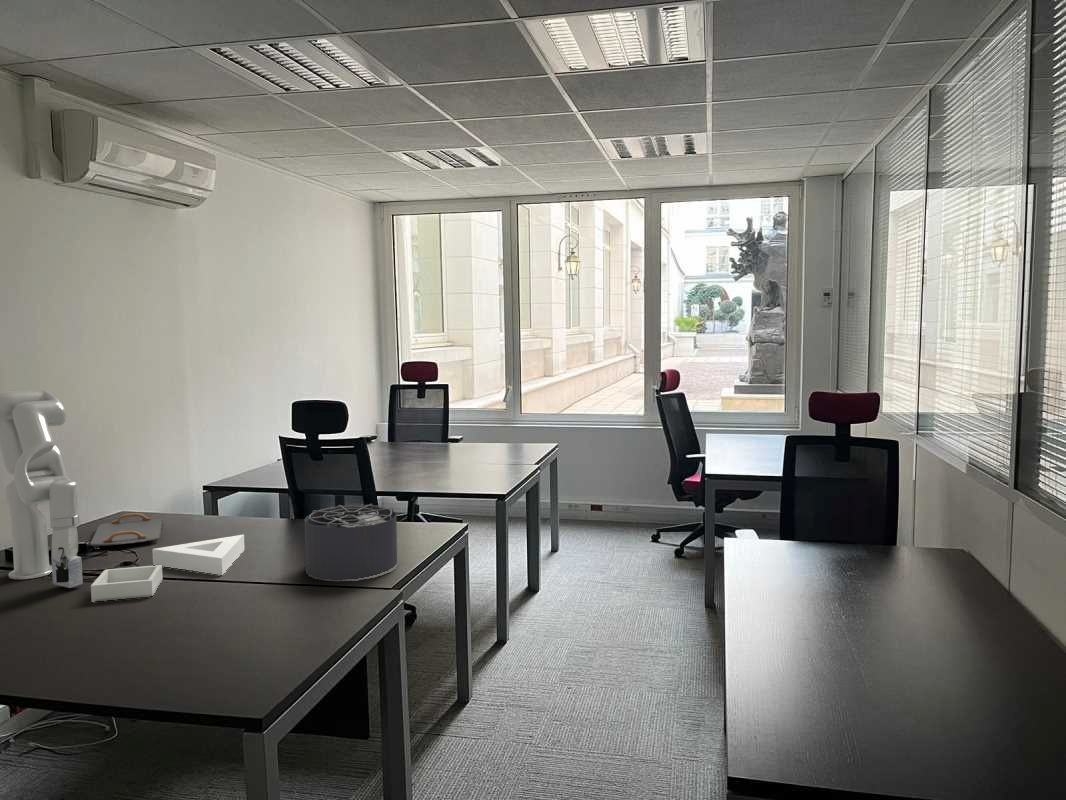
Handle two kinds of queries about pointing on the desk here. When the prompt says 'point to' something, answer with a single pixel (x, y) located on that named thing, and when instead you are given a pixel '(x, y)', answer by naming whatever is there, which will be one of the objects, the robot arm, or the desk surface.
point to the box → (126, 583)
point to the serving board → (127, 531)
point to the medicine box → (70, 572)
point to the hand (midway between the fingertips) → (67, 576)
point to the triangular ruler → (201, 555)
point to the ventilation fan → (350, 542)
